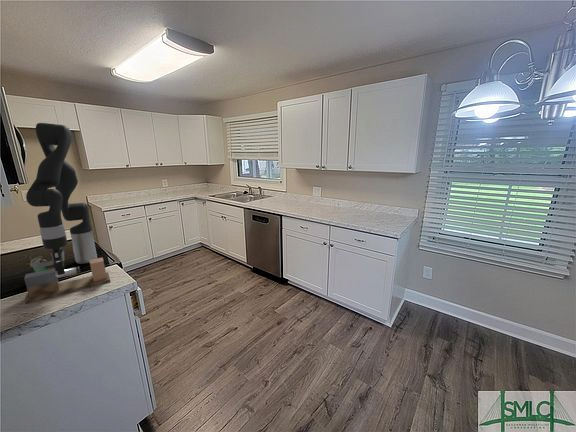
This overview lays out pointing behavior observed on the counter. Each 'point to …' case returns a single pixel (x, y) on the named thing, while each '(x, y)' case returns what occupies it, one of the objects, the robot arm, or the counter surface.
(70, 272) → the tube
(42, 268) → the food container
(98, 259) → the socket
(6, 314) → the counter surface
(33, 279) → the sleeve
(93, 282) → the dock
